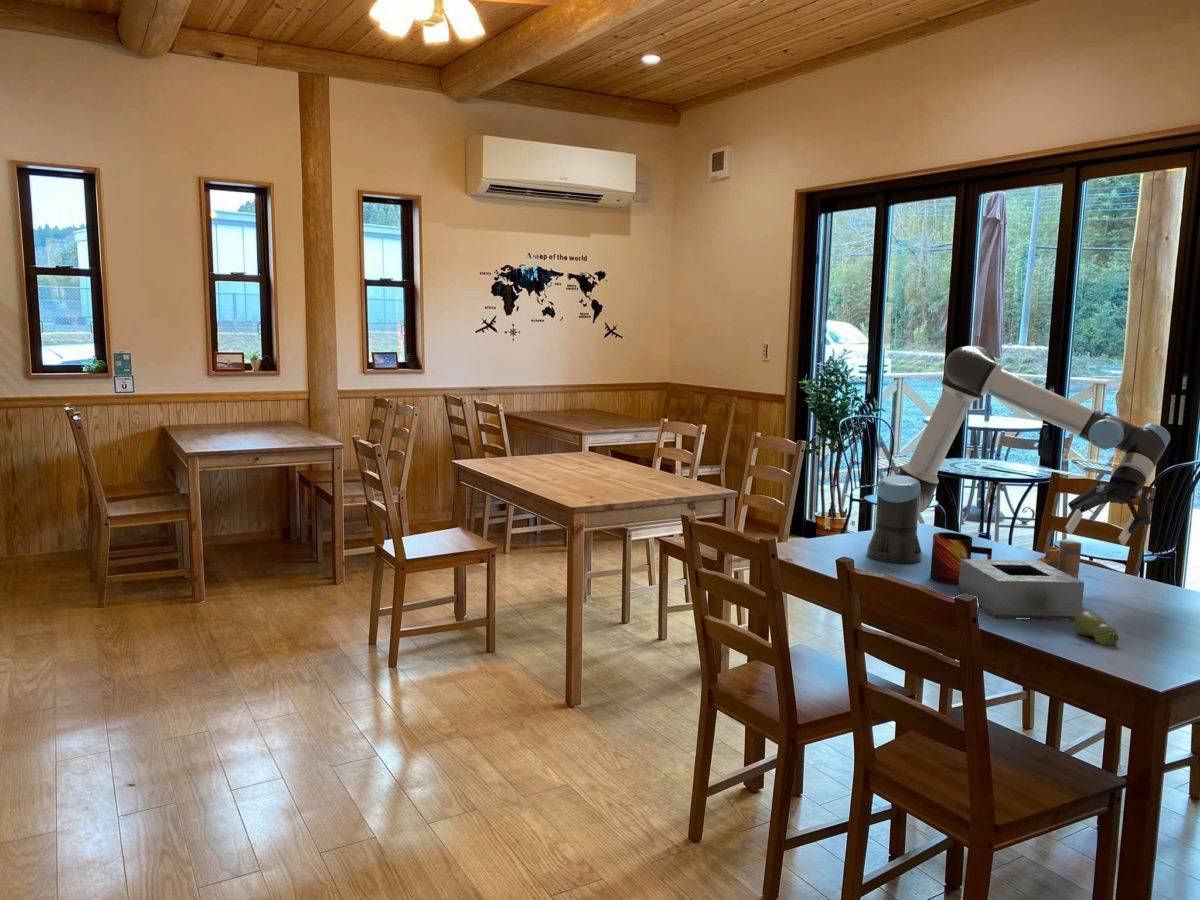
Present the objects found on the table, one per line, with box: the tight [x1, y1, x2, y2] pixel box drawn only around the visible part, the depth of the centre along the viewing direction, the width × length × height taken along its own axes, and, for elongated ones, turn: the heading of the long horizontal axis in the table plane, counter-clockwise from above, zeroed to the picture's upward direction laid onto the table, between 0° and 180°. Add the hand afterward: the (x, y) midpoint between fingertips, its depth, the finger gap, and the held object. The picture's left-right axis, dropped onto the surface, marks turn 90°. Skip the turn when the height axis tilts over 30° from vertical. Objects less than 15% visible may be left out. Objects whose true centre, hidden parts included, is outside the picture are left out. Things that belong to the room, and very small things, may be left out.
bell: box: [1035, 546, 1059, 569], centre depth 248 cm, size 12×12×7 cm
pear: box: [1073, 610, 1119, 646], centre depth 193 cm, size 6×5×10 cm
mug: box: [929, 532, 993, 586], centre depth 237 cm, size 10×14×12 cm
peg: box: [1057, 540, 1082, 580], centre depth 224 cm, size 5×5×14 cm
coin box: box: [957, 558, 1085, 621], centre depth 214 cm, size 20×20×9 cm
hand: (1094, 536), depth 227 cm, fingers open, 13 cm apart
